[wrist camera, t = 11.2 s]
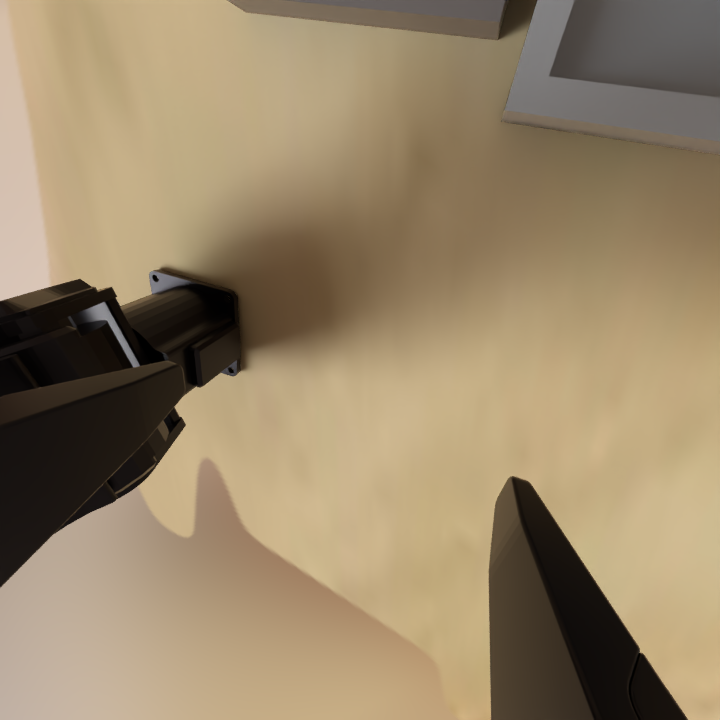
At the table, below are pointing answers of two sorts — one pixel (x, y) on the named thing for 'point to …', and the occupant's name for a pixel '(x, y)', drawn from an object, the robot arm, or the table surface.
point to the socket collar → (394, 14)
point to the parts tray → (622, 71)
